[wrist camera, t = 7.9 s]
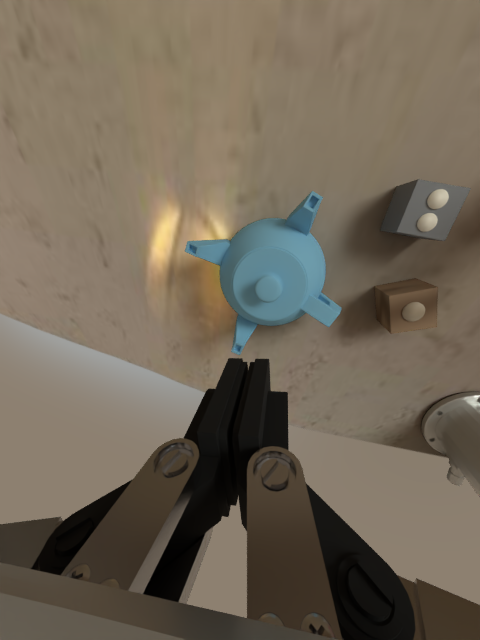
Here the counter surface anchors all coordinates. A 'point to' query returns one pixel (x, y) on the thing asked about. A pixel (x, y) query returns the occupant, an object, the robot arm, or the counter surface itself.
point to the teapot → (271, 271)
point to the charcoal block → (424, 209)
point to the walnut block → (406, 305)
